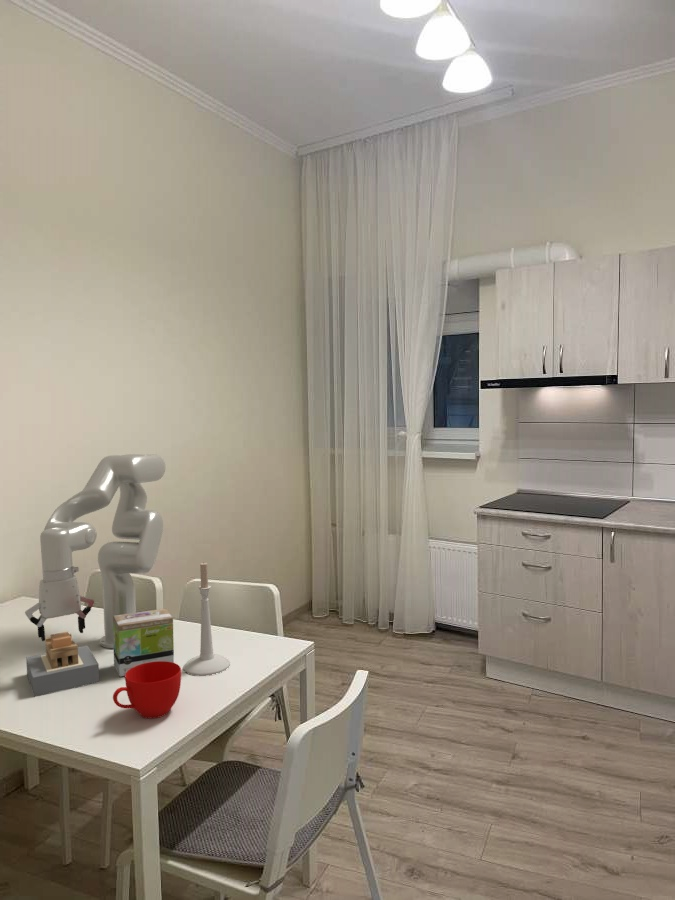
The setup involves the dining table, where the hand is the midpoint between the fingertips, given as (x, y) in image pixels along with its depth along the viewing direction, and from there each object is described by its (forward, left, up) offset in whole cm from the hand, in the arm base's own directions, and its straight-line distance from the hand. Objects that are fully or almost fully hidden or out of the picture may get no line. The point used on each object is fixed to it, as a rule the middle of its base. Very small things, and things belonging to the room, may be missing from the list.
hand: (62, 635), depth 177 cm
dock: (0, 0, -12) cm, 12 cm away
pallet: (0, 0, -7) cm, 7 cm away
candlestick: (-36, +14, -12) cm, 40 cm away
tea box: (-21, +4, -12) cm, 24 cm away
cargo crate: (0, 0, -3) cm, 3 cm away
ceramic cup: (-14, +34, -12) cm, 39 cm away
